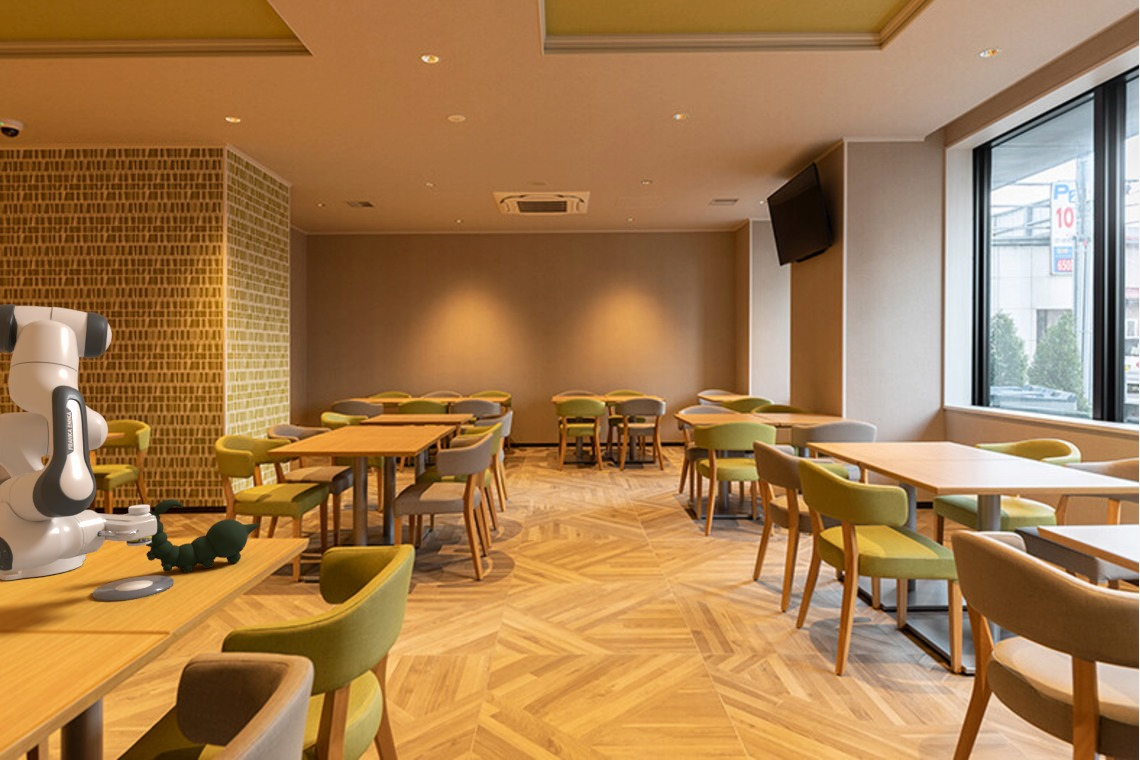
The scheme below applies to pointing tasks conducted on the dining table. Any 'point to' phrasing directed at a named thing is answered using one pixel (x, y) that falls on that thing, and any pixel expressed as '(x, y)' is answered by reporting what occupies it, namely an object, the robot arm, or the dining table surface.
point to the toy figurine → (198, 543)
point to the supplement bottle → (140, 512)
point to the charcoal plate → (133, 588)
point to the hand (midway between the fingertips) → (142, 518)
